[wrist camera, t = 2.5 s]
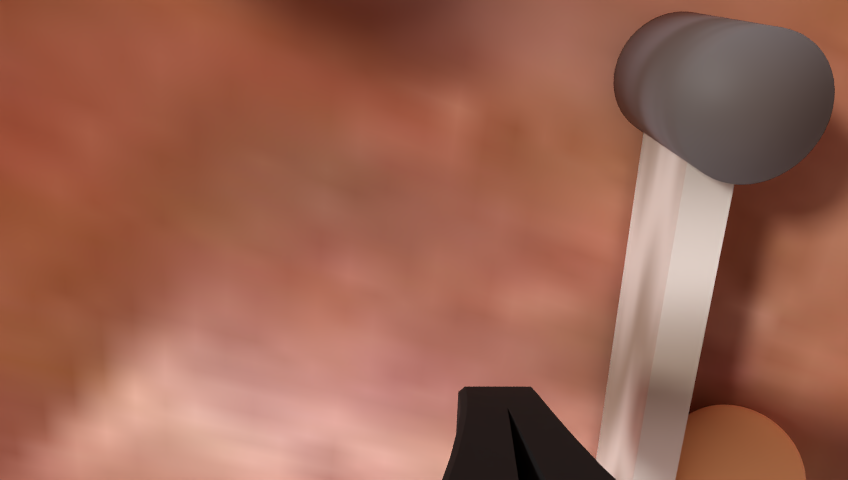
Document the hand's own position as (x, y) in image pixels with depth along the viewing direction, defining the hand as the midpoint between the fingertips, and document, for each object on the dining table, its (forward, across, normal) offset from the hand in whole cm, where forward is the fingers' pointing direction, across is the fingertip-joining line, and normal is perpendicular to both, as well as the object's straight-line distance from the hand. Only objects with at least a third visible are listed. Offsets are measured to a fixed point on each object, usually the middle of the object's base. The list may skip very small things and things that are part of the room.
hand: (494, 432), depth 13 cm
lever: (+8, -5, +1) cm, 9 cm away
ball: (+6, -8, +6) cm, 12 cm away
